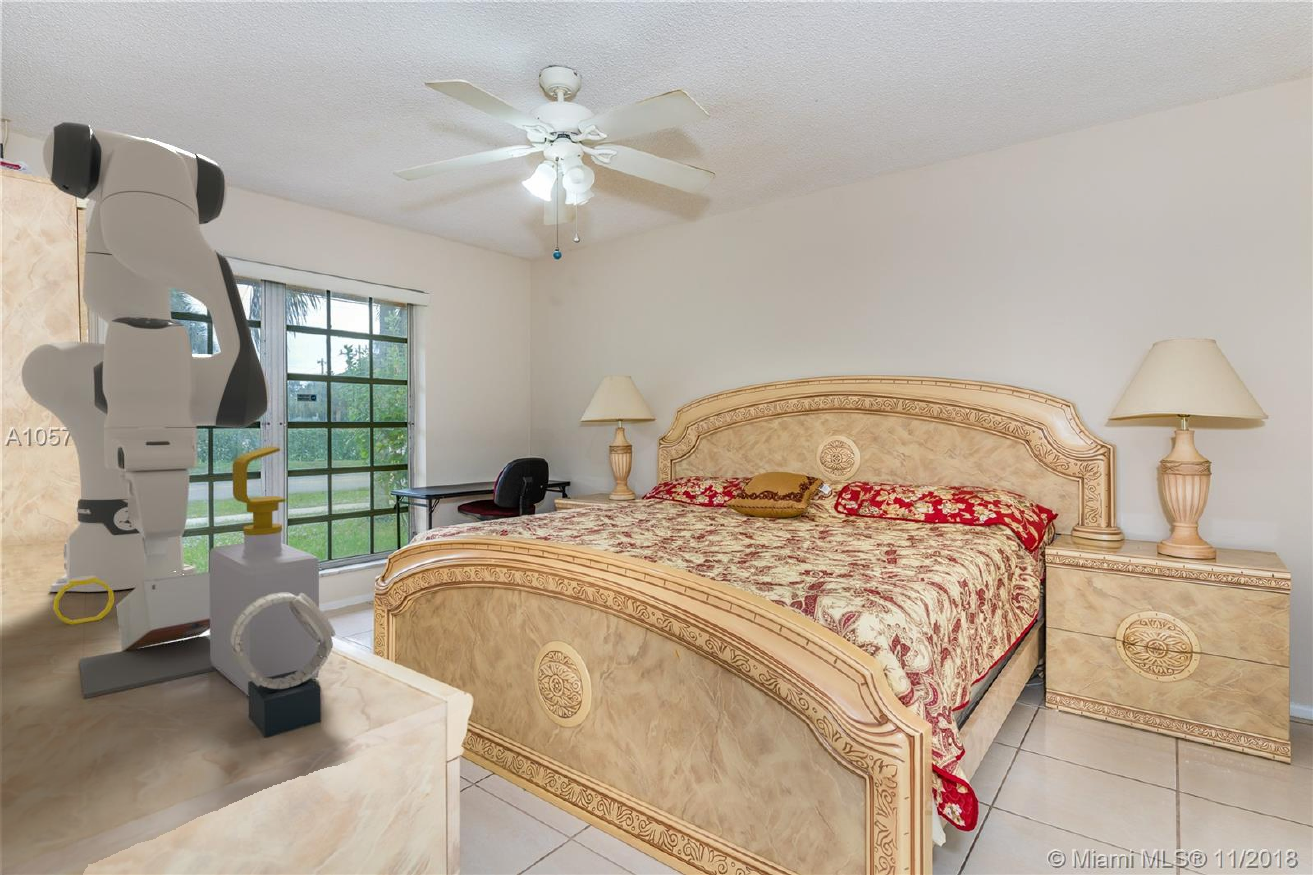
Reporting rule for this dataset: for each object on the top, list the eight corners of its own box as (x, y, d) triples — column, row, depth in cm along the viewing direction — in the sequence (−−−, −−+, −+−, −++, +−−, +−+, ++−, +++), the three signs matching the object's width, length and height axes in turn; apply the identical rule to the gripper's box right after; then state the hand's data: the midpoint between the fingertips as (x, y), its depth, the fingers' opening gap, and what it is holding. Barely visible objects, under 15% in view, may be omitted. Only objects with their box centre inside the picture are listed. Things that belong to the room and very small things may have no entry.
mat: (79, 662, 73) (79, 659, 73) (229, 634, 82) (229, 631, 82) (83, 698, 63) (83, 694, 63) (252, 662, 73) (252, 658, 73)
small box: (120, 652, 76) (148, 632, 70) (114, 604, 77) (141, 580, 71) (201, 636, 82) (233, 615, 76) (195, 591, 83) (225, 568, 77)
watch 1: (57, 631, 85) (52, 585, 85) (55, 626, 87) (49, 582, 87) (117, 617, 90) (111, 574, 89) (113, 613, 91) (108, 571, 91)
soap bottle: (321, 679, 67) (321, 449, 66) (248, 700, 62) (246, 452, 61) (275, 649, 75) (274, 443, 74) (207, 665, 70) (205, 444, 69)
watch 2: (344, 714, 59) (342, 592, 59) (240, 745, 54) (237, 610, 54) (324, 696, 63) (322, 581, 63) (225, 722, 58) (222, 597, 58)
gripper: (112, 451, 85) (115, 559, 85) (125, 455, 70) (129, 586, 70) (172, 449, 89) (175, 552, 89) (198, 453, 74) (201, 576, 74)
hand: (155, 567), depth 80 cm, fingers closed
